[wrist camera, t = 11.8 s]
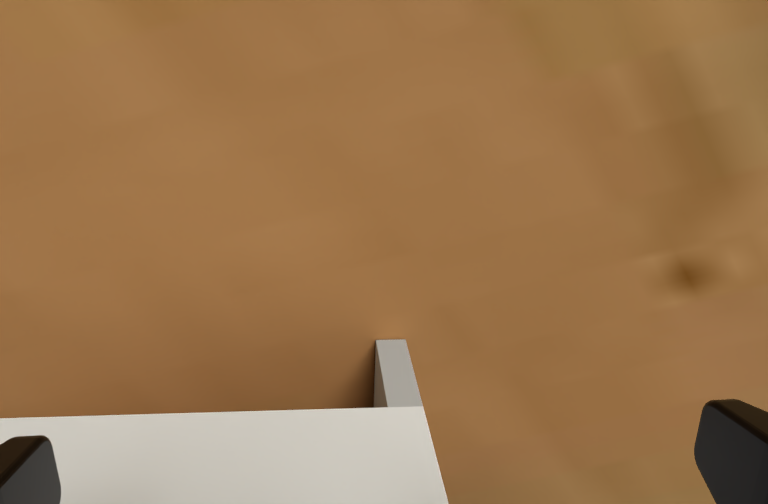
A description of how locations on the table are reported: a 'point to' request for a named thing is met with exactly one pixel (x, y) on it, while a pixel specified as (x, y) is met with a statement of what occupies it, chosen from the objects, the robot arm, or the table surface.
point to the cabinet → (253, 451)
